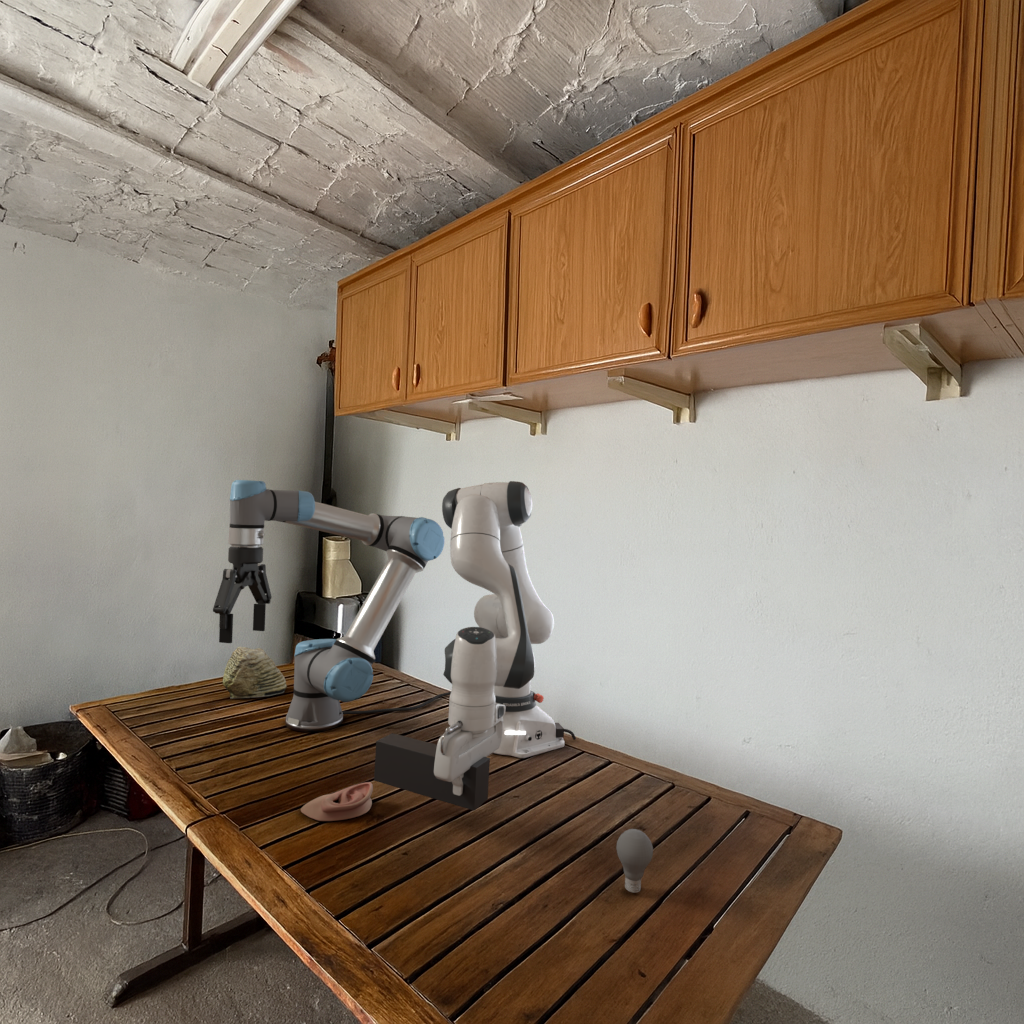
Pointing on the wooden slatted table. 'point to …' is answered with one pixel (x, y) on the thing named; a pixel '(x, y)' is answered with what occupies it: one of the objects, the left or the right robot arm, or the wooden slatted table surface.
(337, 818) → the anatomical model
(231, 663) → the fossil
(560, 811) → the wooden slatted table surface
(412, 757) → the bar
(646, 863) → the light bulb
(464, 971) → the wooden slatted table surface
